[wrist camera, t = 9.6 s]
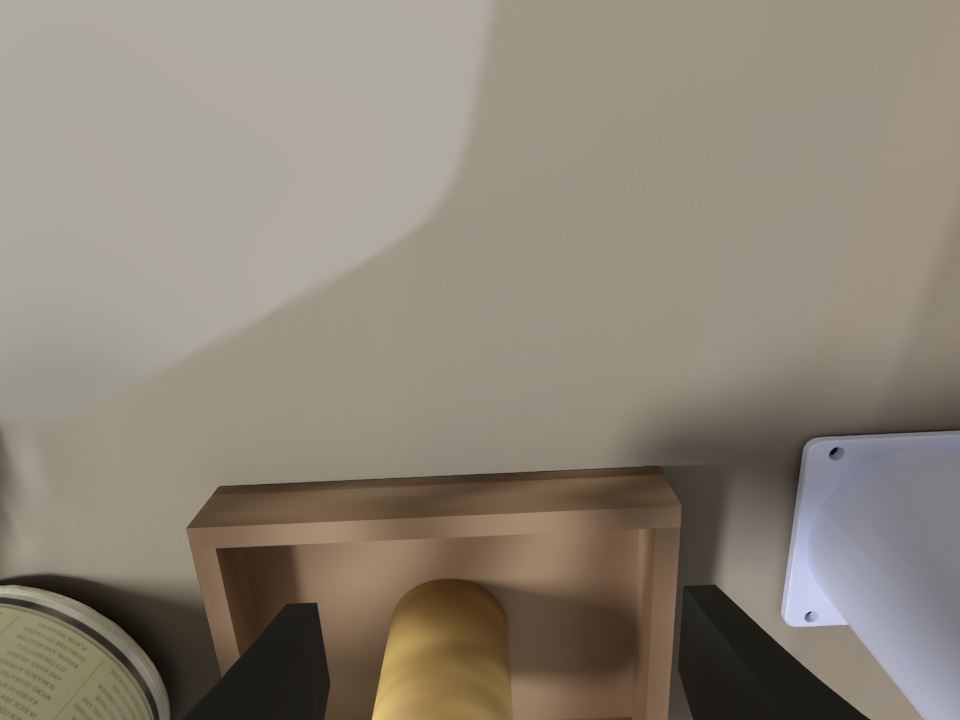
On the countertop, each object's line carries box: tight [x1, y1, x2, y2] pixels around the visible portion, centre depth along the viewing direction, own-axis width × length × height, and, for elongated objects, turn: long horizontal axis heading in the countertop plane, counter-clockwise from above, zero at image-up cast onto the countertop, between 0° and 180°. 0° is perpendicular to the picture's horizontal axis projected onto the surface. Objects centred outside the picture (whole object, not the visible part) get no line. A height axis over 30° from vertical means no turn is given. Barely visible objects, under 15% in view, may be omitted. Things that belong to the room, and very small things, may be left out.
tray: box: [186, 466, 682, 720], centre depth 23 cm, size 16×12×3 cm
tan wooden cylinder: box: [372, 579, 513, 720], centre depth 20 cm, size 4×4×6 cm
